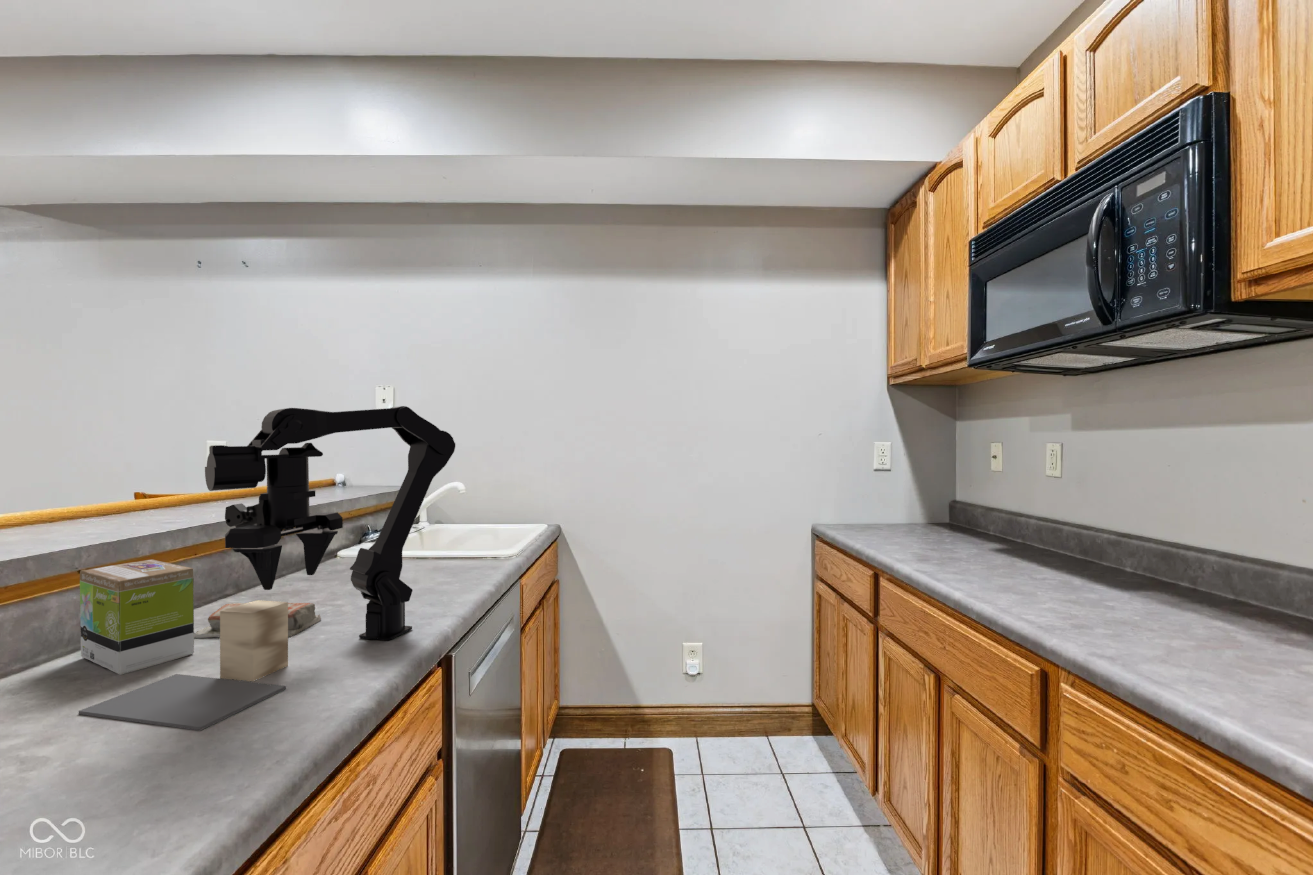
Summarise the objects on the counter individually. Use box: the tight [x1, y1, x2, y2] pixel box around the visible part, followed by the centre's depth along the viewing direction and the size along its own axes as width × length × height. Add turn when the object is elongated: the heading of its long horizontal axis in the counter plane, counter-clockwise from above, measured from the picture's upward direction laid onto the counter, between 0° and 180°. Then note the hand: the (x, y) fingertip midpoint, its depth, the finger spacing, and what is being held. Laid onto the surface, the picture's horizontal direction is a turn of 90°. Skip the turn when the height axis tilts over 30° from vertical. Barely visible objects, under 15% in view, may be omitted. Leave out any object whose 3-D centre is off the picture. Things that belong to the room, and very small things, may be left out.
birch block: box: [219, 599, 289, 682], centre depth 86 cm, size 6×6×10 cm
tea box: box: [79, 558, 195, 676], centre depth 93 cm, size 15×10×15 cm
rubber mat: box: [78, 673, 287, 731], centre depth 77 cm, size 12×20×1 cm, turn 77°
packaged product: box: [194, 602, 322, 639], centre depth 107 cm, size 18×5×10 cm
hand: (290, 581), depth 91 cm, fingers open, 9 cm apart
